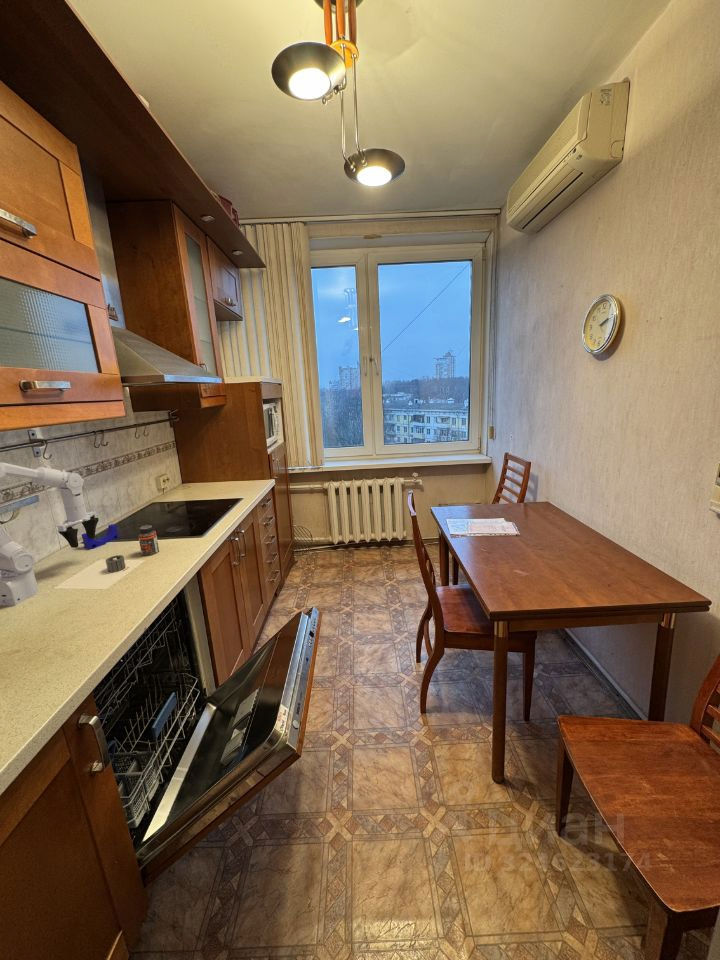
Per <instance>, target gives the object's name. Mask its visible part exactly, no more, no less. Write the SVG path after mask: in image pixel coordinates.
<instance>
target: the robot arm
mask: <svg viewBox="0 0 720 960" xmlns="http://www.w3.org/2000/svg"><path fill="white" fill-rule="evenodd" d="M5 476H8V477H14V478H22V479H27V480H31V481H32V482H33V484H34V485H38V486H39V485H40V486H45V487H52V488H56V489H59V490H60V495H61V498H62V499H61V500H62V502H63V507H64V512H65V515H66V516H65V517H66V520H65V521H63V522H62V523H61V524H58V525H57V531H58V534H60V535H61V536H62V537H63V538H64V539H65V540H66V541H67V543H68V544H69V547H70V548H72V549H73V548H74V549H75V548H79V541H78V540H79V539H78V531H79V528H74V526H77V525H79V524H82V527H83V528H84V530H85V533H86V534H87V537H88V539H93V540H95V539H96V532H97V530H96V529H97V525H98V523H99V520H100V519H99V517H98V514H97V511H95V510H94V511H92V510H91V511H88V512H87V507H86V504H85V499H84V495H83V486H84V482H85V478H82V476H81V475H80V474H79V473H78V472H77V473H76V472H68V471H67V470H65V469H54V468H51V466H49V465H43V466H39V467H35V468H31V467H30V468H29V467H25V466H21V465H15V464H12V463H11V464H10V463H6V462H3V461H2V462H0V479H2V478H3V477H5ZM35 563H36V557H35V555H34V554H33V553H32V552H30V551H28V550H26V548H24V547H23V545H21V544H18V543H17V542H16V541H14V540H13V538H12V537H11V536H10V534H8V532H7V531H6V529H5V528H4V527H3V525H2V524H1V523H0V606H11V607H12V606H13V607H14V606H15V607H17V605H19V604H21V603H23V602H24V601H26V600H28V599H30V598H32V597H35V596H36V595H38V593H39V591H40V589H39V587H38V583H37V579H36V575H35V571H34V568H33V567H34V566H35Z"/></svg>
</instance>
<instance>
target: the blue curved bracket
mask: <svg viewBox="0 0 720 960" xmlns="http://www.w3.org/2000/svg"><path fill="white" fill-rule="evenodd" d="M117 527H118V526H117V525H116V524H114V523H111V524H108V528H107V532H106V534H105V535H104V536H103V537H101V538H98V539H88V537H87V534H86V532H84V533H81V538H82V542H83V543H82V544H83V546H84V549H87V550H90V549H92V550H94V549H97V548H99V547H101V546H105V545H107V543H109V542H112V541H114V539H115V540H117V539H119V532H118V528H117ZM111 540H112V541H111Z"/></svg>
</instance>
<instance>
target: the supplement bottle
mask: <svg viewBox="0 0 720 960" xmlns="http://www.w3.org/2000/svg"><path fill="white" fill-rule="evenodd" d="M139 530H140V531H139V533H138V542H139V547H140V553H141V556H143V557H151V556H154V555H156V554H158V553H159V552H160V549H159V544H158V543H159V541H158V536H157V532H156V530H154V529H153V526H152V525H142V526H141V527H139Z"/></svg>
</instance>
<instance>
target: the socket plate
mask: <svg viewBox="0 0 720 960" xmlns="http://www.w3.org/2000/svg"><path fill="white" fill-rule="evenodd" d="M115 560H117V558H113V561H115ZM124 561H125V566H126V567H125V569H123V570H121V571H119V572H114V573H109V572H108V570H107V565H106V559H98V560H96V561H95V562H93V563H92V564H90V565H88V566H86V567H85V568H83V569H82V570H80V571H79V572H77V573H76V574H74V575H73V576H71V577H69V578H67V579H66V580H64V581H62V582H61V583H59V584H58V585H56V586H54V587H53V589H56V590H57V589H58V590H60V589H63V590H64V589H66V590H107V589H109V588H110V587H111V586H113V585H114V584H116V582H118V581H119V580H121V579H122V578H124V576H126V575H127V574H129V573H130V572H131V571H133V570H134V569H136V568H137V567H139V565H141V564H142V563H144V562H145V561H146V559H124Z"/></svg>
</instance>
